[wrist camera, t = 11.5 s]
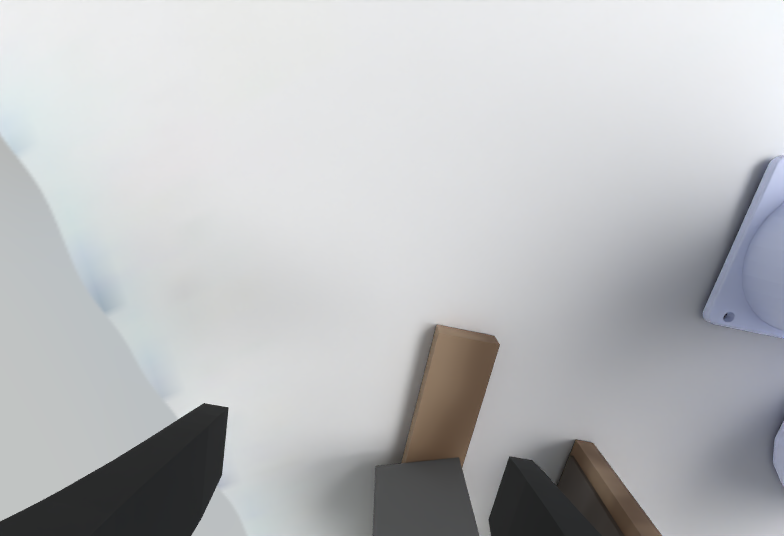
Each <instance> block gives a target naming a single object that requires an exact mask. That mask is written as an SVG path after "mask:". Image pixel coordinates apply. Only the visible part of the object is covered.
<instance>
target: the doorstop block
mask: <svg viewBox="0 0 784 536" xmlns="http://www.w3.org/2000/svg"><path fill="white" fill-rule="evenodd" d="M373 536H479V533H478V529H477V525H476V521H475V517H474V513H473V509H472V506H471V502H470V498H469V494H468V490H467V486H466V482H465V478H464V475H463V471H462V467H461V463H460V459H459V457H457V458H447V459H438V460H428V461H419V462H409V463H400V464H390V465H381V466H376V467H375V493H374V519H373Z"/></svg>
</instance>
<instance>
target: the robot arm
mask: <svg viewBox="0 0 784 536" xmlns="http://www.w3.org/2000/svg"><path fill="white" fill-rule="evenodd" d="M726 313H727V316H726V317H725V318H723V317H724V315H725V314H726ZM703 318H704V319H705V320H706V321H708V322H710V323H712V324H715V325H720V326H725V327H730V328H734V329H739V330H744V331H749V332H754V333H759V334H764V335H769V336H773V337H778V338H783V339H784V155H780V156H777V157H775V158H773V159H772V160H771V161H770V163H769V164H768V167H767V169H766V171H765V173H764V176H763V178H762V180H761V182H760V185H759V187H758V189H757V191H756V193H755V196H754V198H753V200H752V202H751V205H750V207H749V209H748V211H747V214H746V216H745V218H744V220H743V223H742V225H741V227H740V229H739V232H738V234H737V236H736V238H735V241H734V243H733V245H732V247H731V250H730V252H729V254H728V256H727V259H726V261H725V263H724V265H723V268H722V270H721V272H720V274H719V277H718V279H717V281H716V283H715V286H714V288H713V290H712V292H711V295H710V297H709V299H708V301H707V304H706V306H705V308H704V310H703ZM227 418H228V407H222V406H217V405H211V404H205V403H204V404H202V405H201V406H199V407H197V408H196V409H194V410H193V411H191V412H189V413H188V414H186V415H185V416H183V417H181V418H180V419H178V420H177V421H175V422H174V423H172V424H171V425H169V426H167V427H166V428H164V429H163V430H161V431H160V432H158V433H156V434H155V435H153V436H152V437H150V438H149V439H147V440H146V441H144V442H142V443H141V444H139V445H137V446H136V447H134V448H132V449H131V450H129V451H128V452H126V453H124V454H123V455H121V456H120V457H118V458H116V459H115V460H113V461H111V462H109V463H108V464H106V465H104V466H103V467H101V468H99V469H97V470H95V471H94V472H92V473H90V474H88V475H87V476H85V477H83V478H82V479H80V480H78V481H76V482H75V483H73V484H71V485H69V486H68V487H66V488H64V489H62V490H61V491H59V492H57V493H55V494H53V495H51V496H50V497H47V498H46V499H44V500H42V501H40V502H38V503H36V504H34V505H32V506H30V507H28V508H26V509H25V510H23V511H21V512H18V513H16V514H14V515H12V516H10V517H9V518H7V519H4V520H2V521H0V536H191V535H192V533H193V532H194V530H195V528H196V527H197V525H198V523H199V521H200V520H201V518H202V516H203V514H204V512H205V510H206V508H207V506H208V504H209V501H210V499H211V497H212V495H213V493H214V491H215V488H216V486H217V484H218V482H219V480H220V478H221V476H222V468H223V458H224V448H225V438H226V428H227ZM489 525H490V532H491V536H602V535H601V534H600V533H599V532H598V531H597V530H596V529H595V528H594V527H593V526H592V525H591V523H590V522H589V521H588V520H587V519H586V518H585V517H584V516H583V515H582V514H581V513H580V511H579V510H578V509H577V508H576V507H575V506H574V505H573V504H572V503H571V501H570V500H569V499H568V498H567V497H566V496H565V495H564V494H563V493H562V492H561V490H560V489H559V488H558V487H557V486H556V485H555V484H554V483H553V482H552V481H551V479H550V478H549V477H548V476H547V475H546V474H545V473H544V472H543V471H542V470H541V469H540V468H539V467H538V466H537V465H536V464H535V463H534V462H533V461H532V460H527V459H521V458H515V457H509V459H508V462H507V465H506V468H505V471H504V474H503V477H502V480H501V483H500V486H499V489H498V493H497V496H496V499H495V502H494V505H493V508H492V511H491V514H490V517H489Z"/></svg>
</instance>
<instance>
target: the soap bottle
mask: <svg viewBox="0 0 784 536" xmlns="http://www.w3.org/2000/svg"><path fill="white" fill-rule="evenodd" d="M773 464H774V467H775V469H776V472H777V474H778V476H779V479H780V481H781V483H782V485H783V487H784V421H783V423H782V425H781V427H780V429H779V431H778V433H777V435H776V437H775V441H774V454H773Z"/></svg>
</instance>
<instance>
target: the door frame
mask: <svg viewBox="0 0 784 536" xmlns="http://www.w3.org/2000/svg"><path fill="white" fill-rule="evenodd" d="M499 346H500V344H499V343H498V341H497V339H496V338H495V336H492V335H487V334H482V333H477V332H472V331H467V330H462V329H457V328H452V327H447V326H442V325H436V329H435V333H434V337H433V341H432V345H431V349H430V352H429V356H428V360H427V364H426V368H425V372H424V376H423V380H422V384H421V388H420V391H419V395H418V399H417V403H416V407H415V411H414V415H413V419H412V423H411V427H410V430H409V434H408V438H407V442H406V446H405V450H404V454H403V458H402V462H401V463H409V462H419V461H428V460H438V459H447V458H457V457H459V459H460V463H461V467H463V463H464V460H465V457H466V454H467V450H468V447H469V444H470V441H471V437H472V434H473V431H474V427H475V424H476V421H477V418H478V414H479V411H480V408H481V405H482V401H483V398H484V395H485V392H486V388H487V385H488V382H489V379H490V375H491V372H492V369H493V365H494V362H495V359H496V356H497V352H498V349H499ZM557 487H558V488H559V489H560V490H561V492H562V493H563V494H564V495H565V496H566V497H567V498H568V499H569V500H570V501H571V503H572V504H573V505H574V506H575V507H576V508H577V509H578V510H579V511H580V513H581V514H582V515H583V516H584V517H585V518H586V519H587V520H588V521H589V522H590V523H591V525H592V526H593V527H594V528H595V529H596V530H597V531H598V532H599V533H600V534H601V535H602V536H662V535H661V534H660V532H659V531H658V530H657V528H656V527H655V526H654V524H653V523H652V522H651V520H650V519H649V517H648V516H647V515H646V513H645V512H644V511H643V509H642V508H641V507H640V505H639V504H638V503H637V501H636V500H635V499H634V497H633V496H632V495H631V493H630V492H629V491H628V489H627V488H626V487H625V485H624V484H623V483H622V481H621V480H620V478H619V477H618V476H617V474H616V473H615V472H614V470H613V469H612V468H611V466H610V465H609V464H608V462H607V461H606V460H605V458H604V457H603V456H602V454H601V453H600V452H599V450H598V449H597V448H596V446H595V445H594V443H591V442H586V441H580V440H575V442H574V445H573V448H572V450H571V453H570V455H569V458H568V460H567V463H566V466H565V468H564V471H563V473H562V476H561V478H560V481H559V484H558V486H557Z"/></svg>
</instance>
